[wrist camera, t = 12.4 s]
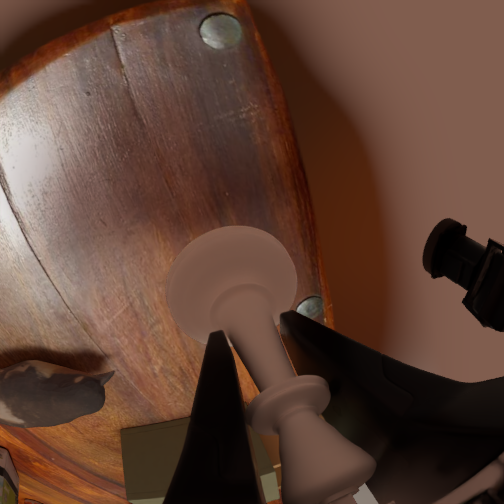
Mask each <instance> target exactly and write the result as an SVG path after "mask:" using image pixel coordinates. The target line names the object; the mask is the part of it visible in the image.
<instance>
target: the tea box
mask: <svg viewBox="0 0 504 504" xmlns="http://www.w3.org/2000/svg"><path fill="white" fill-rule="evenodd" d="M18 492H19V477H18V475H17V473H16V470H15V468H14V466H13V463H12V461H11V458H10V456H9V453H8V451H7V450H5V449H3V448H1V447H0V504H18Z"/></svg>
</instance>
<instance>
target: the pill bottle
mask: <svg viewBox="0 0 504 504" xmlns="http://www.w3.org/2000/svg"><path fill="white" fill-rule="evenodd" d="M25 504H42V503H40V502H37V501H34V500H29V499H26V500H25Z"/></svg>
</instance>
